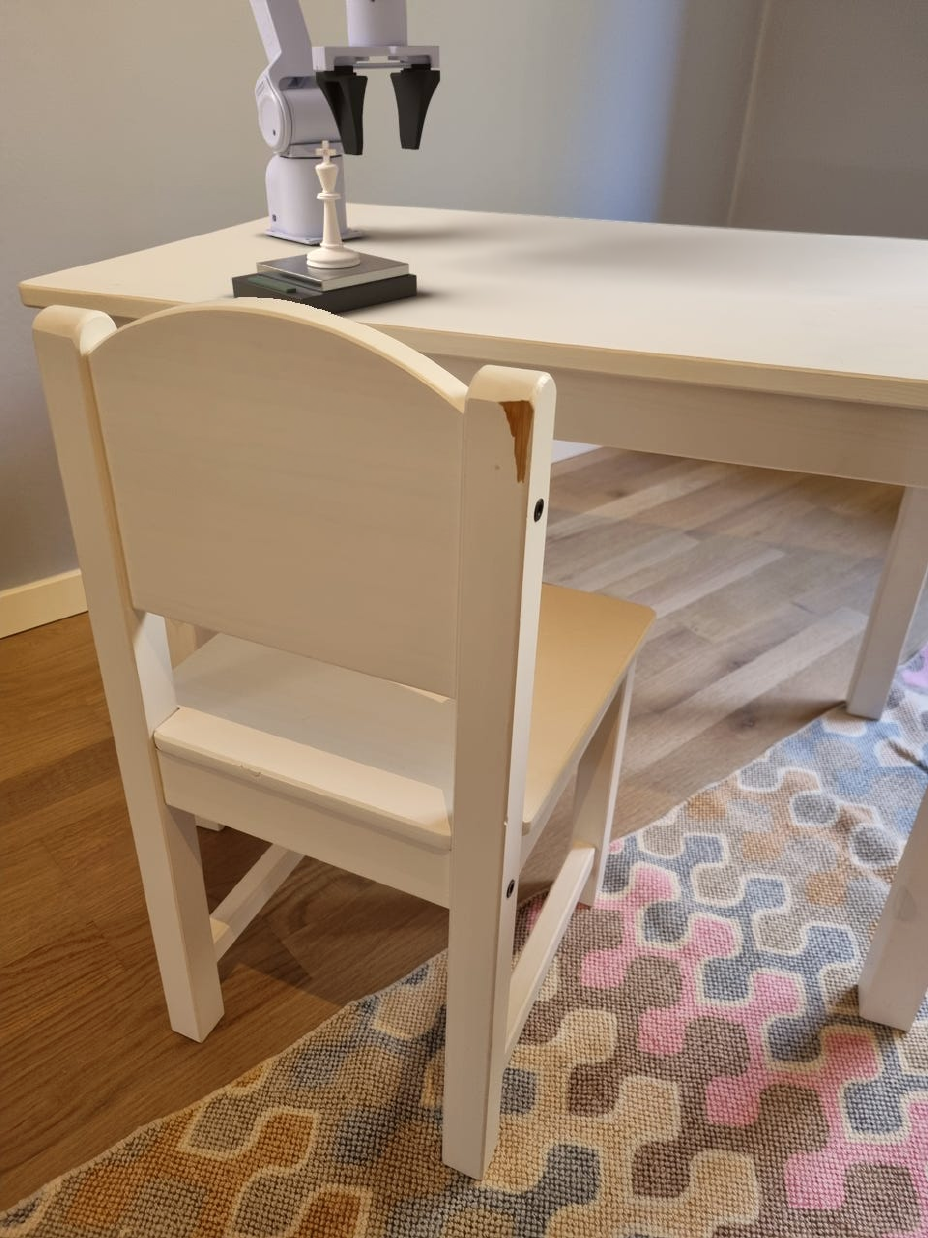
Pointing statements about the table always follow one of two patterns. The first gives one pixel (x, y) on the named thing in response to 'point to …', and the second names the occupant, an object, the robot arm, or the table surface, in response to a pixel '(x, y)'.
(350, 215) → the table surface
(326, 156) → the chess piece
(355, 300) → the scale
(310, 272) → the scale pan
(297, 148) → the robot arm
